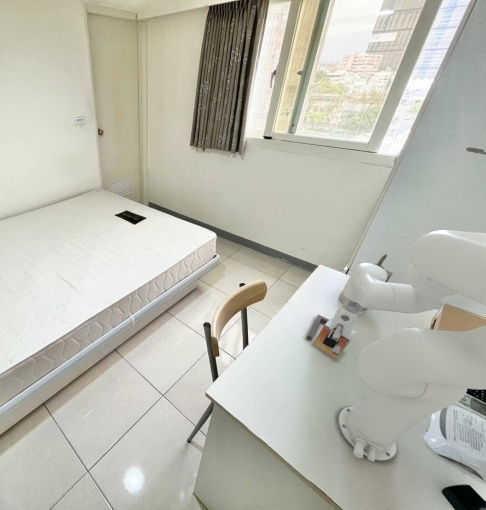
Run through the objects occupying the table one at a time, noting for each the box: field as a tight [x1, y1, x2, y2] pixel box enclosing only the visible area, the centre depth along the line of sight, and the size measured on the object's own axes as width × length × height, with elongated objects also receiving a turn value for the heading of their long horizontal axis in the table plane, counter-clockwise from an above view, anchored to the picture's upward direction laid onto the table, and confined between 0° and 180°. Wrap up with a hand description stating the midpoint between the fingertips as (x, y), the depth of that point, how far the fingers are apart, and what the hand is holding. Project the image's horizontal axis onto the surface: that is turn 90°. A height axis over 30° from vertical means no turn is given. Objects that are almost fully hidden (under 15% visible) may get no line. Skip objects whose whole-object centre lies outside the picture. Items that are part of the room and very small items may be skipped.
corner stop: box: [305, 314, 330, 342], centre depth 98 cm, size 14×11×2 cm
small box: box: [312, 317, 357, 361], centre depth 91 cm, size 8×6×10 cm
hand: (331, 337), depth 92 cm, fingers open, 7 cm apart
